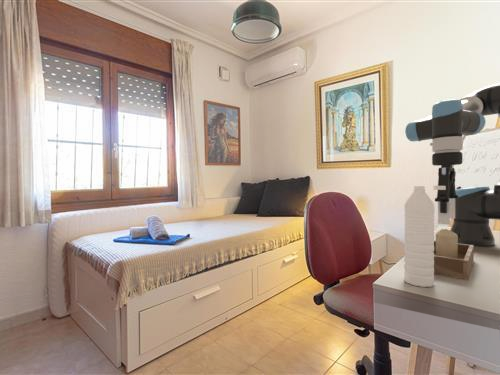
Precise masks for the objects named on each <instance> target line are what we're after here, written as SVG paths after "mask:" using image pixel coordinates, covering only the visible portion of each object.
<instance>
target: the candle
mask: <svg viewBox="0 0 500 375" xmlns="http://www.w3.org/2000/svg"><path fill="white" fill-rule="evenodd" d="M450 230H451V229H450ZM450 230H449V229H447V228H445V229H443V228H441V229H440V230H438V231H437V232H436V233H435V241H436V256H443V257H450V258H456V259H458V244H459V243H458V235H457V234H456V233H454V232H452V231H450Z"/></svg>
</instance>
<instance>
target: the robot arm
mask: <svg viewBox="0 0 500 375" xmlns="http://www.w3.org/2000/svg"><path fill="white" fill-rule="evenodd" d="M431 109H432V110H431V115H429V116H427V117H425V118H422V119H419V120H413V121H411V122H409V123H408V124H406V127H405V130H404V131H405V137H406V138H407V140H408V141H409V142H421V141H428V140H431V141H432V142H430V143H429V145H430V146H431V147H432V148H431V151H432V152H433V153H432V155H431V163H432V164H431V165H432V166H441V167H438V173H437V174H438V180H437V186H446V188H443V189H446V190H436V191H437V194H436V198H434V203H435V202H437V224H438V225H451V219H452V220H453V223H452V225H451V228H450V231H452V232H454V233H456V234H457V235H458V244H466V245H474V246H479V247H486V246H487V247H489V246H490V247H491V246H495V241H496V240H495V237H494V235H493V232H492V230H491V227H490V220H494V221H495V220H497V221H500V180H499V181H498V182H496V183H494V185H493V189H491V188H490V186H475V187H465V188H463V187H461V188H458V189H457V188H456V174H457V172H456V169H455V168H454V167H453V166H459V165H462V164H463V152H462V150H463V149H464V148H463V147H464V146H463V145H464V144H463V143H464V140H463V136H473V135H476V134H479V133H480V132H481V131H482V130H483V129H484V128H485V126H486V116H492V115H497V116H498V118H499V119H500V82H499V83H495V84H491V85H488V86H485V87H483V88H479V89H478V90H475V91H474V92H472V93H470V94H467V95H466V96H464V97H461V98H460V99H457V98H454V99H445V100H440V101H438V102H436V103H434V104H433V105H432V107H431Z"/></svg>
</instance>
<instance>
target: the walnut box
mask: <svg viewBox="0 0 500 375" xmlns="http://www.w3.org/2000/svg"><path fill="white" fill-rule="evenodd" d="M474 248H475V245H467V244H461V243H458V259H456V258H450V257H443V256H436V240H434V266H433V267H434V274H433V275H439V276H444V277H451V278H456V279H460V280H465V281H469V277H470V275H471V271H472V267H473V264H474V261H475V260H474V259H475V258H474V256H475V252H474V251H475V250H474Z"/></svg>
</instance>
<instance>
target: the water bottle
mask: <svg viewBox="0 0 500 375" xmlns="http://www.w3.org/2000/svg"><path fill="white" fill-rule="evenodd" d="M443 188H446V186H438V185H433V191H438V190H446V189H443ZM434 203H435V202H434V201H432V199H431V198H430V196H429V195H428V194H427V193H426V189H425V186H423V185H422V186H421V185H420V186H418V185H417V186H413V192H412V193H411V194H410V196H409V197H408V198H407V199H406V201H405V204H404V252H403V253H404V265H403V266H404V277H403V278H404V280H403V281H405V283H407V284H410V285H412V286H416V287H421V288H427V287H428V288H430V287H433V286H434V285H435V276H434V275H435V274H434V267H433V266H434V241H435V204H434Z"/></svg>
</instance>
